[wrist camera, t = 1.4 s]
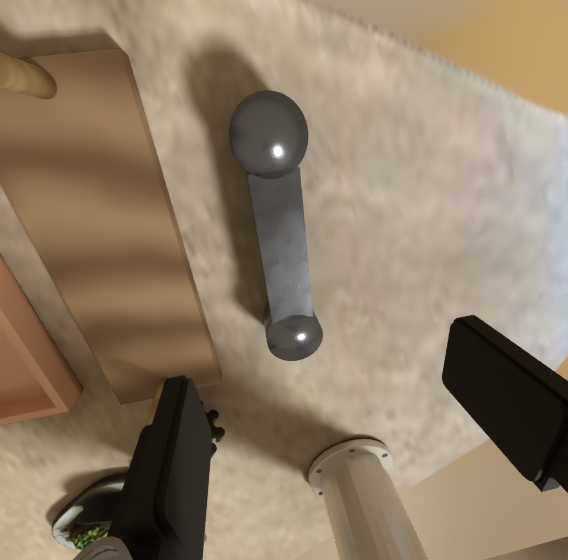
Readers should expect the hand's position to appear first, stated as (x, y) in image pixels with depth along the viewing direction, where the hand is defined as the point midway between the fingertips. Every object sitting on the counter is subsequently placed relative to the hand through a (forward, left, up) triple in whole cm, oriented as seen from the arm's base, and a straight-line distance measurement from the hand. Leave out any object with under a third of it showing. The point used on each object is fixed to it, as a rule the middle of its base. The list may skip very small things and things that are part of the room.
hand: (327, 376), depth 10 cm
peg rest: (0, +13, -17) cm, 21 cm away
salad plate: (-35, +24, -17) cm, 45 cm away
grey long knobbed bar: (0, 0, -17) cm, 17 cm away
